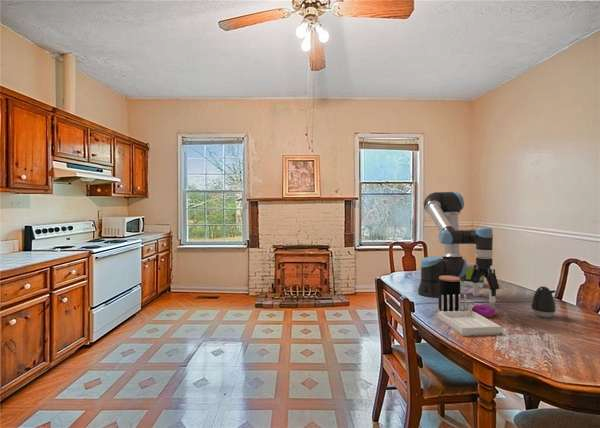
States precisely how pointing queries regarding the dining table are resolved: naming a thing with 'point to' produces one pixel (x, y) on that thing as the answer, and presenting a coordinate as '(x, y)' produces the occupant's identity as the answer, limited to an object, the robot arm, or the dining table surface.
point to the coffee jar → (449, 291)
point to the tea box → (466, 278)
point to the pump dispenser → (543, 302)
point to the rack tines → (453, 303)
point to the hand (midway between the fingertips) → (483, 298)
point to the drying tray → (469, 323)
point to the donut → (484, 310)
